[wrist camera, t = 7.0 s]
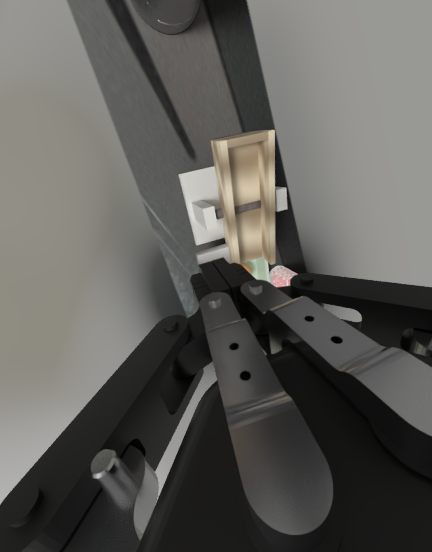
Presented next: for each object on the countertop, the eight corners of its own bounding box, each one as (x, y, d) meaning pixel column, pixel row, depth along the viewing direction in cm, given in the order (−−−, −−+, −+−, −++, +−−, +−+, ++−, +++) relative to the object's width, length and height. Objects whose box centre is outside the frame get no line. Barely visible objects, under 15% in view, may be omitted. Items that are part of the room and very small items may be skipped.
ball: (234, 289, 45) (227, 272, 46) (253, 283, 45) (245, 266, 47) (236, 280, 41) (229, 262, 43) (256, 274, 42) (248, 256, 43)
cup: (211, 256, 44) (218, 265, 39) (255, 244, 45) (266, 251, 41) (222, 304, 49) (229, 316, 44) (261, 291, 50) (272, 302, 46)
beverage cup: (286, 257, 49) (334, 285, 36) (292, 279, 51) (338, 312, 39) (262, 270, 48) (301, 302, 36) (269, 292, 51) (308, 329, 39)
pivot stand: (178, 174, 37) (188, 173, 28) (257, 156, 39) (289, 150, 30) (195, 243, 42) (208, 261, 33) (264, 224, 44) (293, 236, 35)
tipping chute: (169, 148, 28) (174, 150, 24) (262, 128, 30) (281, 128, 26) (198, 269, 38) (205, 285, 34) (266, 249, 40) (280, 261, 36)
